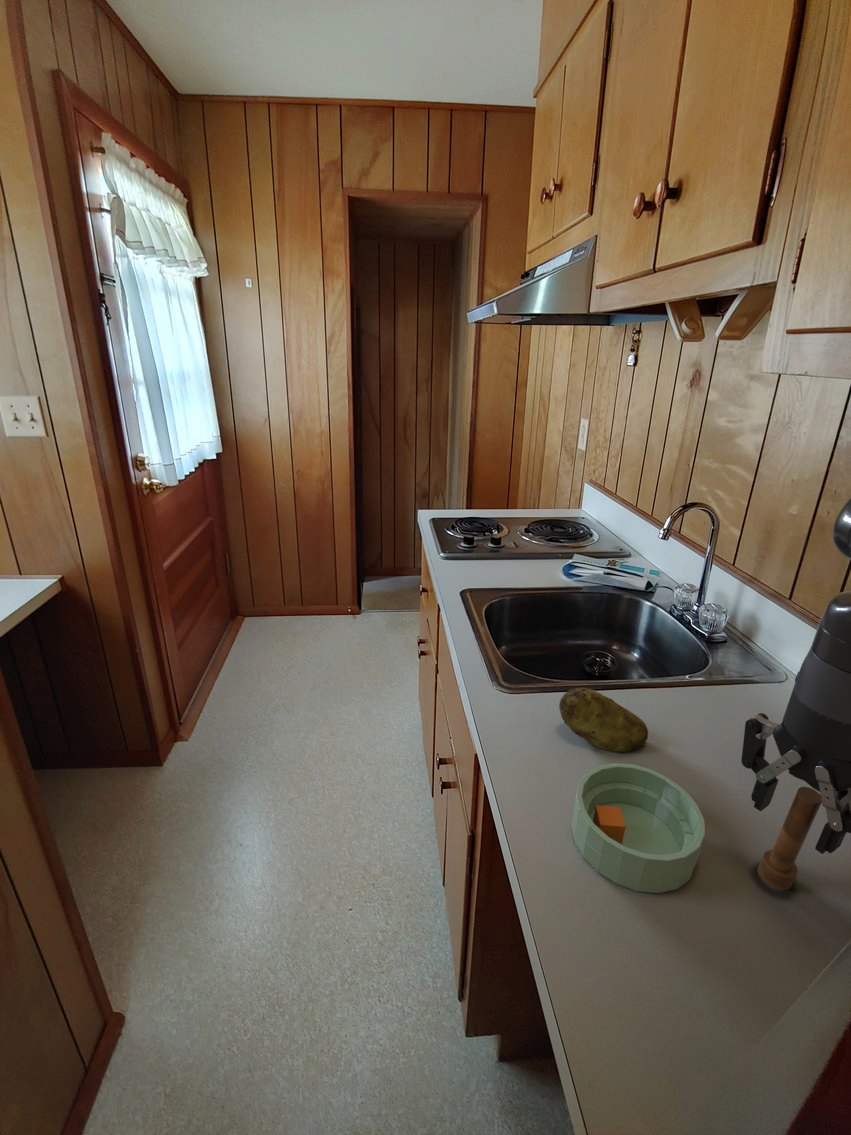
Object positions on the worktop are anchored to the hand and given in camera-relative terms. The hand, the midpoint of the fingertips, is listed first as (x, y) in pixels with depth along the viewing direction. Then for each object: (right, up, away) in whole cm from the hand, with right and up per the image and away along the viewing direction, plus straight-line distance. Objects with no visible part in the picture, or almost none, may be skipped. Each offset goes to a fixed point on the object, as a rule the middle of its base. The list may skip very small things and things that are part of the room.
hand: (790, 826), depth 59 cm
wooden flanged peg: (+1, -8, +4) cm, 9 cm away
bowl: (-14, -6, +9) cm, 18 cm away
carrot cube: (-17, -5, +9) cm, 20 cm away
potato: (-13, +1, +26) cm, 29 cm away
